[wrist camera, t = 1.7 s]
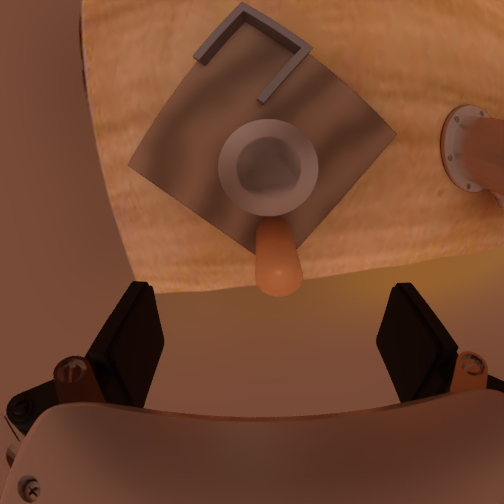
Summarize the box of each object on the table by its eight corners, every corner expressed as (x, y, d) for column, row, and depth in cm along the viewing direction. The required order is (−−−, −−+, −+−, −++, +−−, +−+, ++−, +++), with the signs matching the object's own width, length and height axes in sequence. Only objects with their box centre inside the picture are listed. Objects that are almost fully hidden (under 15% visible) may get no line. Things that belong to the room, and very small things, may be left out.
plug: (297, 230, 33) (312, 273, 24) (275, 254, 34) (281, 304, 25) (270, 209, 32) (276, 246, 23) (248, 235, 33) (245, 280, 24)
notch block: (307, 55, 24) (313, 47, 21) (263, 105, 27) (263, 103, 24) (243, 13, 22) (241, 1, 19) (199, 63, 25) (192, 56, 22)
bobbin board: (389, 133, 29) (483, 153, 14) (276, 262, 37) (287, 360, 22) (243, 16, 24) (232, -64, 8) (133, 162, 32) (46, 202, 16)
